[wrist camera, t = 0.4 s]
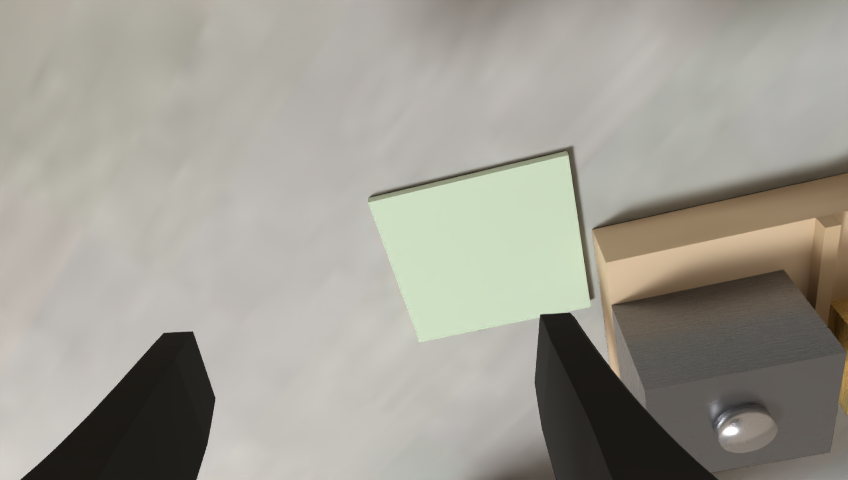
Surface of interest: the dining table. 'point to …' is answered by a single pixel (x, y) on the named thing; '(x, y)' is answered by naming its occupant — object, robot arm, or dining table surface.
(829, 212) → the wooden tray with rails
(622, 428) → the robot arm
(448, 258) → the mat
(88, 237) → the dining table surface
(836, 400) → the metal box with knob
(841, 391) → the bolt
